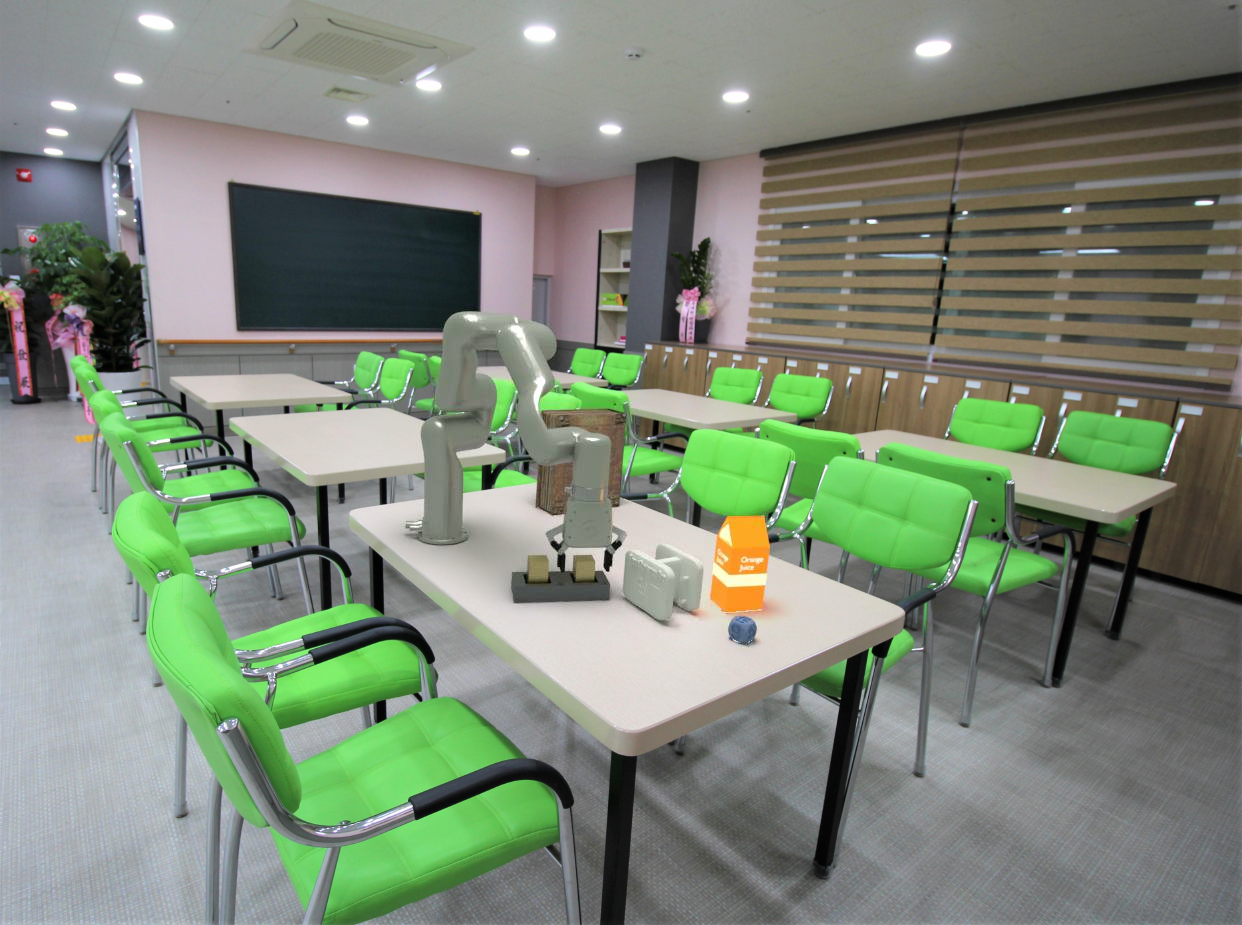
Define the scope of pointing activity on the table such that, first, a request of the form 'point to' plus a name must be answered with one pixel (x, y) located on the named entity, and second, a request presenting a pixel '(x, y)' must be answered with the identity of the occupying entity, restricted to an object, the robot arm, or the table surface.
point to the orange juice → (740, 564)
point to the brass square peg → (583, 569)
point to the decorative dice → (742, 629)
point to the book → (560, 475)
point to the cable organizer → (663, 580)
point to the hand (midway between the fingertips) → (584, 569)
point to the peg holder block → (555, 584)
